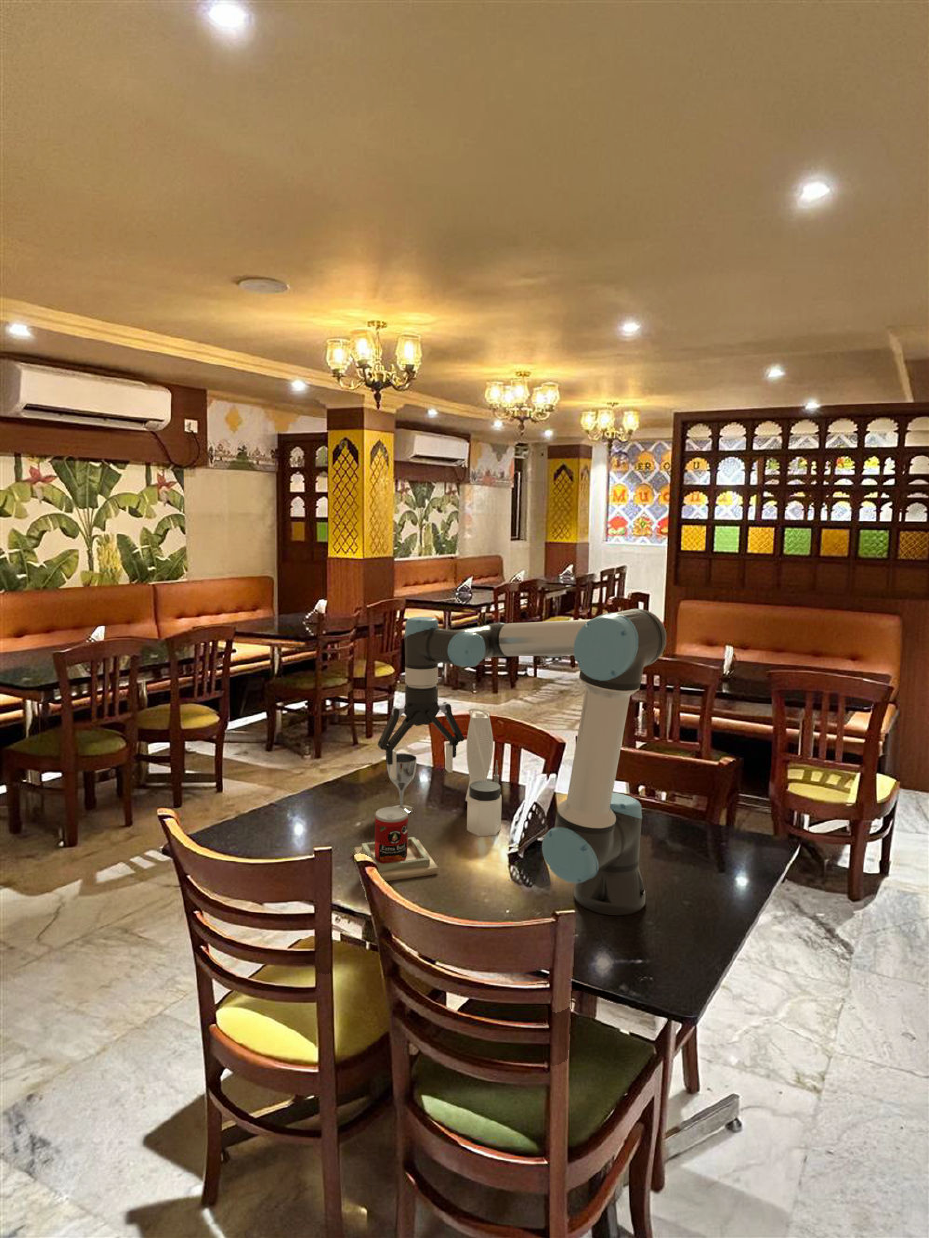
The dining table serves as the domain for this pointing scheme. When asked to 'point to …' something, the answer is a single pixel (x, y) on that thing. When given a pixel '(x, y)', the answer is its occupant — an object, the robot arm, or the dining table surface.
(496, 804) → the jar
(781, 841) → the dining table surface
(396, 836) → the canned food
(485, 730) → the white vase
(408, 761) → the wine glass
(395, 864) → the holder
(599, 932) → the dining table surface
